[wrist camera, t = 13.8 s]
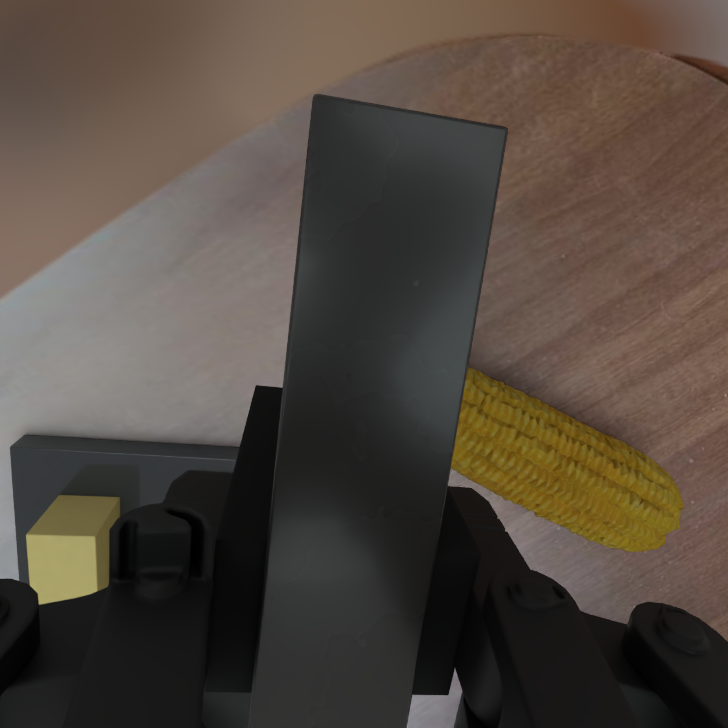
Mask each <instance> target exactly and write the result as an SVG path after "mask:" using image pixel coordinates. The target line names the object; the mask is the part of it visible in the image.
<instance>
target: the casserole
mask: <svg viewBox="0 0 728 728" xmlns="http://www.w3.org/2000/svg"><path fill="white" fill-rule="evenodd" d="M205 683H206V682H205ZM250 701H251V693H234V692H205V687H204V694H203V711H202V727H201V728H248V720H249V711H250Z"/></svg>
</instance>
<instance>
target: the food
mask: <svg viewBox="0 0 728 728" xmlns="http://www.w3.org/2000/svg"><path fill="white" fill-rule="evenodd" d="M451 468H452V469H453V470H455V471H457V472H458V473H460V474H462V475H463V476H465V477H467V478H468V479H469V480H472V481H474V482H475V483H477V484H479V485H481V486H483V487H485V488H487V489H489V490H490V491H492V492H494V493H495V494H497V495H500V496H502V497H503V498H504V499H505V500H511V501H512V502H513V503H514V504H520V505H522V507H523V508H526V509H527V510H528V511H530V510H532V511H534V513H535V515H536V516H539V517H542V518H544V519H546V520H549V521H552V522H554V523H556V524H558V525H561V526H563V527H565V528H568V529H569V530H570V531H571V532H572V533H575V532H576V533H577V534H578V535H581V536H583V537H585V538H586V539H587V540H589V541H595V542H597V543H599V544H602V545H605V546H607V547H610V548H612V549H622V550H624V551H626V552H641V551H646V550H653V549H654V548H655V549H657V548H659V547H660V546H662V545H664V544H665V534H667V533H669V532H670V531H672V530H677V529H680V512H681V509H683V504H682V503H683V502H682V498H681V495H680V492H679V489H678V487H677V485H676V484H675V482H674V480H673V479H672V477H671V476H670V475H669V474H668V473H667V472H666V471H665V470H664V469H663V468H662V467H661V466H660V465H658V464H657V463H656V462H655V461H654V460H652V459H651V458H650V457H648V456H647V455H646V454H644V453H643V452H640V451H639V450H636V449H634V448H632V447H631V446H630V445H628V444H626V443H624V442H623V441H619V440H617V439H614V438H613V436H607V435H606V434H603V433H601V432H598V431H596V430H595V429H593V427H589V426H587V425H586V424H584V423H583V422H579V421H577V420H575V419H574V418H573V417H568V416H567V415H566V414H565V413H564V412H562V413H561V412H559V411H557V410H556V409H554V408H553V407H551V406H549V405H547V404H546V403H544V402H541V401H540V400H538V399H537V398H536V397H535V398H532V397H530V396H528V395H526V394H524V393H523V392H522V391H519V390H516V389H513V388H511V387H510V386H509V385H504V383H503V382H502V381H496V380H494V379H491V378H489V377H488V376H486V375H484V374H482V373H481V372H480V371H477V370H475V369H473V368H470V367H468V370H467V375H466V381H465V387H464V393H463V399H462V405H461V411H460V417H459V422H458V428H457V434H456V440H455V446H454V452H453V458H452V464H451Z"/></svg>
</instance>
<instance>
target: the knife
mask: <svg viewBox="0 0 728 728" xmlns="http://www.w3.org/2000/svg"><path fill="white" fill-rule="evenodd" d="M507 135H508V128H506V127H504V126H498V125H492V124H486V123H481V122H475V121H469V120H464V119H458V118H452V117H447V116H441V115H435V114H430V113H424V112H418V111H412V110H407V109H401V108H395V107H390V106H384V105H378V104H373V103H367V102H361V101H356V100H350V99H344V98H339V97H333V96H327V95H321V94H315V95H314V97H313V101H312V111H311V120H310V130H309V140H308V149H307V159H306V169H305V178H304V188H303V198H302V207H301V217H300V227H299V236H298V246H297V256H296V265H295V275H294V285H293V294H292V304H291V314H290V323H289V333H288V343H287V352H286V362H285V372H284V382H283V391H282V401H281V411H280V420H279V430H278V440H277V449H276V459H275V469H274V478H273V488H272V498H271V507H270V517H269V527H268V536H267V546H266V556H265V565H264V575H263V585H262V594H261V604H260V614H259V623H258V633H257V643H256V652H255V662H254V672H253V682H252V691H251V701H250V711H249V720H248V728H407V722H408V716H409V710H410V704H411V698H412V693H413V687H414V681H415V675H416V669H417V663H418V657H419V651H420V646H421V640H422V634H423V628H424V622H425V616H426V610H427V604H428V599H429V593H430V587H431V581H432V575H433V569H434V563H435V557H436V552H437V546H438V540H439V534H440V528H441V522H442V516H443V511H444V505H445V499H446V493H447V487H448V481H449V475H450V469H451V464H452V458H453V452H454V446H455V440H456V434H457V428H458V422H459V417H460V411H461V405H462V399H463V393H464V387H465V381H466V375H467V370H468V364H469V358H470V352H471V346H472V340H473V334H474V328H475V323H476V317H477V311H478V305H479V299H480V293H481V287H482V281H483V276H484V270H485V264H486V258H487V252H488V246H489V240H490V234H491V229H492V223H493V217H494V211H495V205H496V199H497V193H498V187H499V182H500V176H501V170H502V164H503V158H504V152H505V146H506V140H507Z"/></svg>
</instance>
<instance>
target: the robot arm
mask: <svg viewBox="0 0 728 728" xmlns="http://www.w3.org/2000/svg"><path fill="white" fill-rule="evenodd" d="M282 391H283V388H279V387H268V386H258V385H256V387H255V391H254V394H253V398H252V402H251V406H250V410H249V414H248V417H247V421H246V425H245V429H244V433H243V437H242V440H241V444H240V448H239V452H238V456H237V460H236V463H235V467H234V471H233V473H228V472H214V471H200V470H188V471H186V472H185V473H183V474H182V475H181V476H179V477H178V478H177V479H175V480H174V481H172V483H171V485H170V487H169V489H168V491H167V494H166V496H165V499H164V500H163V502H162V503H157V504H149V505H146V506H142V507H139V508H136V509H133V510H131V511H129V512H127V513H126V514H124V515H123V516H121V517H119V518H118V519H117V520H116V521H115V523H114V524H113V525H112V527H111V528H110V530H109V584H108V587H106V588H104V589H102V590H99V591H97V592H94V593H92V594H89V595H85V596H81V597H77V598H73V599H67V600H62V601H56V602H51V603H45V604H40V605H39V601H38V593H37V592H36V591H35V590H34V589H33V588H32V587H31V586H30V585H29V584H27V583H24V582H20V581H17V580H13V579H0V728H201V727H202V711H203V694H204V687H205V692H234V693H251V691H252V682H253V672H254V662H255V652H256V643H257V633H258V623H259V614H260V604H261V594H262V585H263V575H264V565H265V556H266V546H267V536H268V527H269V517H270V507H271V498H272V488H273V478H274V469H275V459H276V449H277V440H278V430H279V420H280V411H281V401H282ZM454 669H456V672H457V675H458V678H459V681H460V684H461V687H462V695H461V700H460V704H459V708H458V712H457V716H456V720H455V724H454V728H728V642H727V641H726V640H725V639H724V638H723V637H722V636H721V635H720V634H719V633H718V632H716V631H715V630H714V629H712V628H711V627H710V626H708V625H707V624H706V623H705V622H703V621H702V620H701V619H699V618H697V617H695V616H693V615H691V614H689V613H688V612H686V611H685V610H682V609H680V608H677V607H673V606H671V605H666V604H663V603H653V602H646V603H643V604H639V605H636V607H635V608H634V610H633V611H632V613H631V616H630V619H629V622H628V625H626V624H623V623H619V622H615V621H612V620H608V619H605V618H601V617H597V616H594V615H590V614H587V613H584V612H581V611H580V610H579V608H578V606H577V604H576V602H575V600H574V599H573V598H572V597H571V595H570V594H569V593H568V591H567V590H566V589H565V588H564V587H562V586H561V585H560V584H558V583H557V582H556V581H554V580H553V579H552V578H549V577H547V576H545V575H543V574H541V573H539V572H537V571H533V570H530V568H529V567H528V565H527V563H526V562H525V560H524V558H523V557H522V555H521V554H520V552H519V550H518V549H517V547H516V545H515V544H514V542H513V541H512V539H511V537H510V536H509V534H508V532H505V528H504V526H503V524H502V523H501V521H500V519H497V515H496V513H495V511H494V510H493V508H492V506H491V505H490V503H489V502H488V501H487V500H486V499H485V498H484V497H482V496H481V495H480V494H478V493H477V492H476V491H475V490H473V489H472V488H465V487H451V486H448V487H447V493H446V499H445V505H444V511H443V516H442V522H441V528H440V534H439V540H438V546H437V552H436V557H435V563H434V569H433V575H432V581H431V587H430V593H429V599H428V604H427V610H426V616H425V622H424V628H423V634H422V640H421V646H420V651H419V657H418V663H417V669H416V675H415V681H414V687H413V693H412V695H448V694H449V690H450V686H451V681H452V677H453V673H454ZM205 682H206V683H205Z"/></svg>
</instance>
